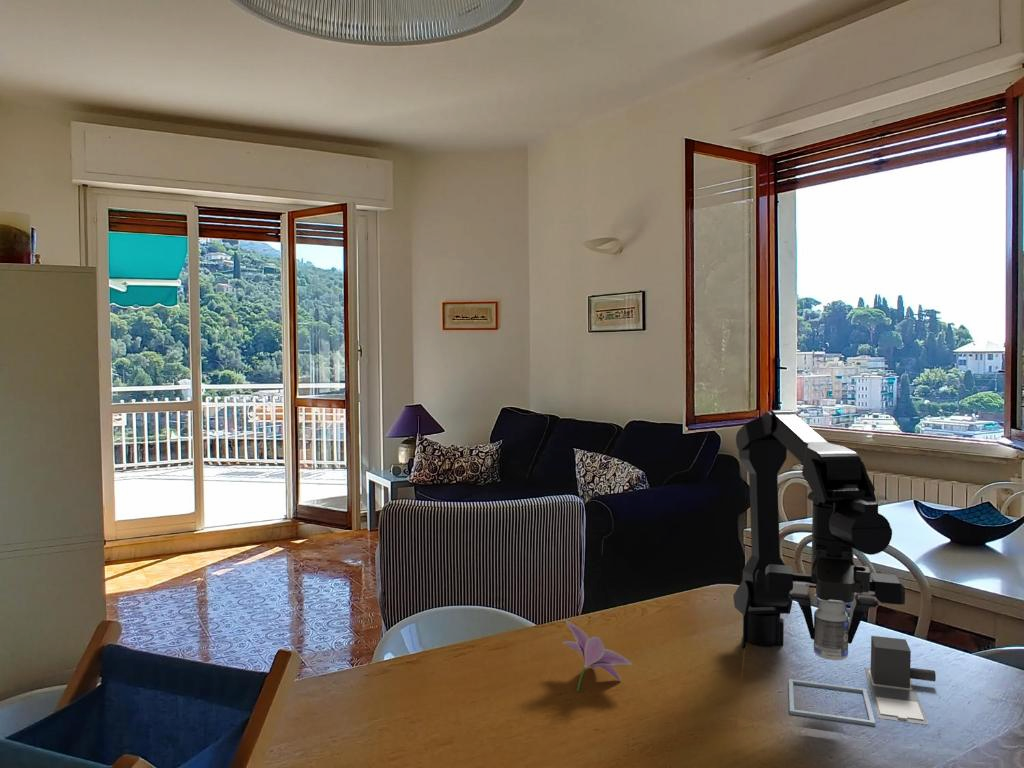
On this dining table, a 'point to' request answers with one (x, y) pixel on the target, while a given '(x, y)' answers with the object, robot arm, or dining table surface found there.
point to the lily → (594, 652)
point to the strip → (896, 702)
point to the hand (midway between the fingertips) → (830, 640)
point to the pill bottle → (831, 630)
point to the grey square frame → (827, 716)
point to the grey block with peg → (894, 663)
